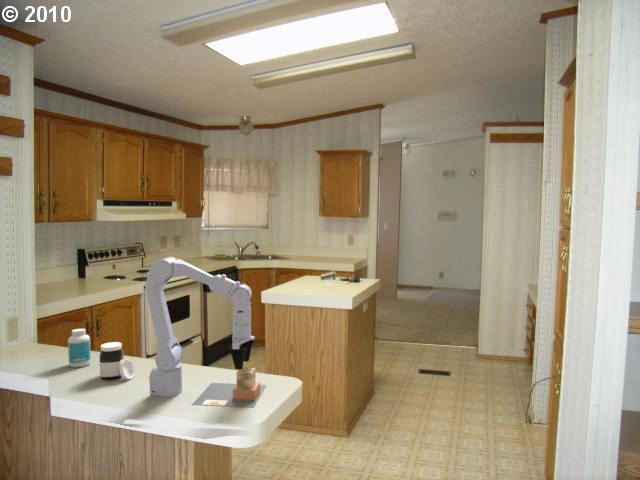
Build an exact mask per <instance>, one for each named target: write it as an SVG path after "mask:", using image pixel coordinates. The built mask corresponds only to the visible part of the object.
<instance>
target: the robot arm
mask: <svg viewBox="0 0 640 480" xmlns="http://www.w3.org/2000/svg"><path fill="white" fill-rule="evenodd" d="M179 277H187V278H189V279H192V280H195V281H196V282H200V283H202V284H204V285H207V286H208V288H209V290H210V291H211V292H212V293H215V294H217V295H219V296H222V297H224V298H226V299H228V300H231V301H232V305H233V306H232V337H231V339H232V343H231V345H230V346H229V347H228V352H229V354H230V356H231V358H232V361H233V365H234V369H235V370H239V369H242V368H244V367H243V366H244V362H246V363H247V362H249V360H250V357H251V354H252V353H251V352H252V348H253V345H254V343H255V339H256V336H254V335H252V305H251V304H252V303H251V300H250V299H252V296H253V295H252V294H253V291H252V288H251V287H250V286H249V285H247V283H241V282H240V281H239V280H236V281H234V280H233V279H230V278H228V277H227V275H226V274H224V273H222V275H221V274H216V275H212V274H210V273H208V272H207V271H204V270H202V269H200V268H198V267H196V266H194V265H193V264H191V263H189V262H186V261H185V260H183V259H180V258H176V257H174V256H166V257H165V258H161V259H158V260H155V261H154V262H153V264H152V265H150V267H149V268H148V274H147V277H146V281H145V284H144V290H145V291H144V292H145V294H146V295H145V296H146V299H147V303H148V308H149V311H150V316H151V320H152V324H153V329H154V332H155V336H156V341H157V342H156V346H155V352H156V354H155V355H156V356H155V358H154V359H155V366H154V367H152V368H151V370H150V374H149V397H151V396H161V397H173V396H177V395H179V394H181V393H182V392H183V375H182V373H183V372H182V370H183V369H182V365H183V364H182V362H181V359H182V358H183V357H184V349H183V347H182V346H181V345H180V343H179V341H178V337H176V336H175V334H174V330H173V326H172V321H171V317H170V313H169V309H168V308H169V307H168V304H167V300H166V296H165V292H164V288H165V286H166V285H167V283H168V282H169V280H170V279H172V278H179ZM156 366H157V367H156Z"/></svg>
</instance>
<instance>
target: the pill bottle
mask: <svg viewBox="0 0 640 480" xmlns="http://www.w3.org/2000/svg"><path fill="white" fill-rule="evenodd" d="M86 331H87V330H86V328H76V329H72V330H71V335H70V337H68V339H67V347H68V348H67V349H68V366H69V367H71V368H82V367H86V366H89V365H90V364H91V361H92V360H91V359H92V358H91V338H90V335H88V334H86V333H87V332H86Z"/></svg>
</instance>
